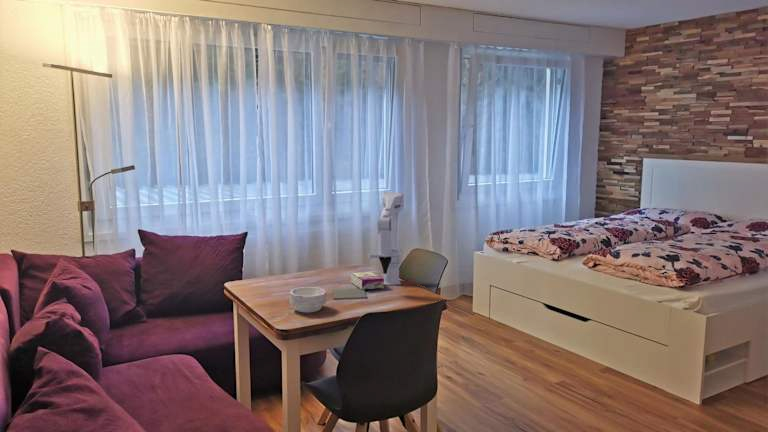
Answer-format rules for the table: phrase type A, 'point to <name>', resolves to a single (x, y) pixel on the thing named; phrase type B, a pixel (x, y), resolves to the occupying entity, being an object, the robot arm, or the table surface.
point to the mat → (349, 294)
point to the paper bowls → (308, 298)
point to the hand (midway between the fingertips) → (385, 273)
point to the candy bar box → (367, 280)
